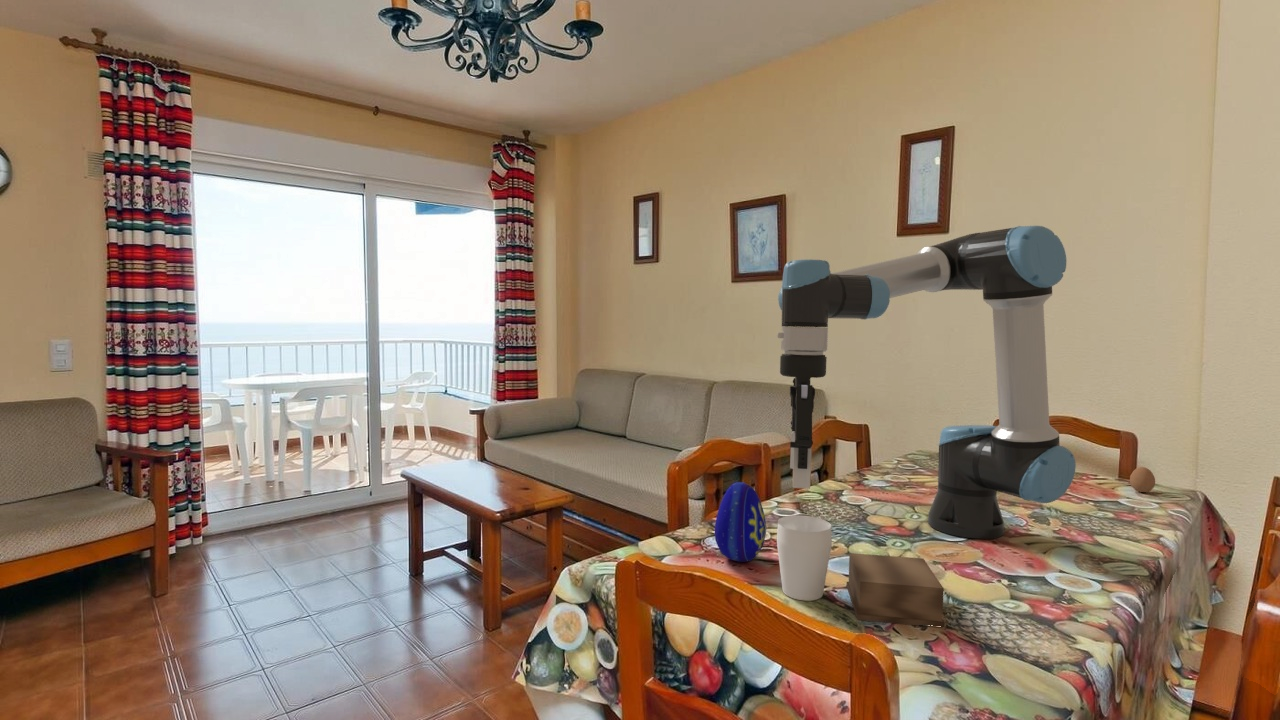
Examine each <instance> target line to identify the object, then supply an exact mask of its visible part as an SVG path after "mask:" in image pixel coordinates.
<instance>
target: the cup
mask: <svg viewBox="0 0 1280 720" xmlns="http://www.w3.org/2000/svg"><path fill="white" fill-rule="evenodd" d="M832 544H833V543H832V525H831V523H830V522H828V521H827V520H825V519H824V518H823V519H822V518H820V517H815V516H810V515H809V516H808V515H798V514H797V515H795V514H794V515H786V516H783V517H780V518H779V519H778V520H777V531H776V546H777V555H778V563H779V571H780V579H781V581H780V582H781V588H782V592H783V593H784V594H785V595H786V596H787V597H789V598H791V599H794V600H797V601H805V602H812V601H817V600H819V599H821V598H823V595H824V591H825V585H826V579H827V573H828V567H829V562H830V561H829V560H830V557H831V551H832Z"/></svg>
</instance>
